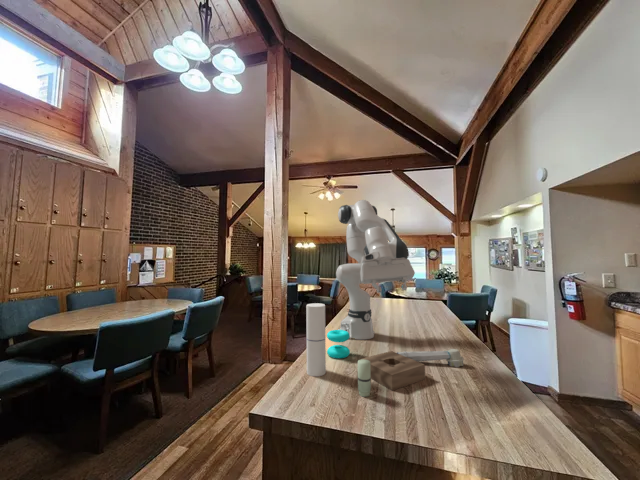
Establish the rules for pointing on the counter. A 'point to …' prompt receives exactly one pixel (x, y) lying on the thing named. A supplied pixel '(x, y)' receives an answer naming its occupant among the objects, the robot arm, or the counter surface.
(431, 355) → the white handheld wand
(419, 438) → the counter surface
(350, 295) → the robot arm
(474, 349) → the counter surface
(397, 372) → the socket block
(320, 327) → the cylindrical container
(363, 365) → the peg
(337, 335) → the donuts
